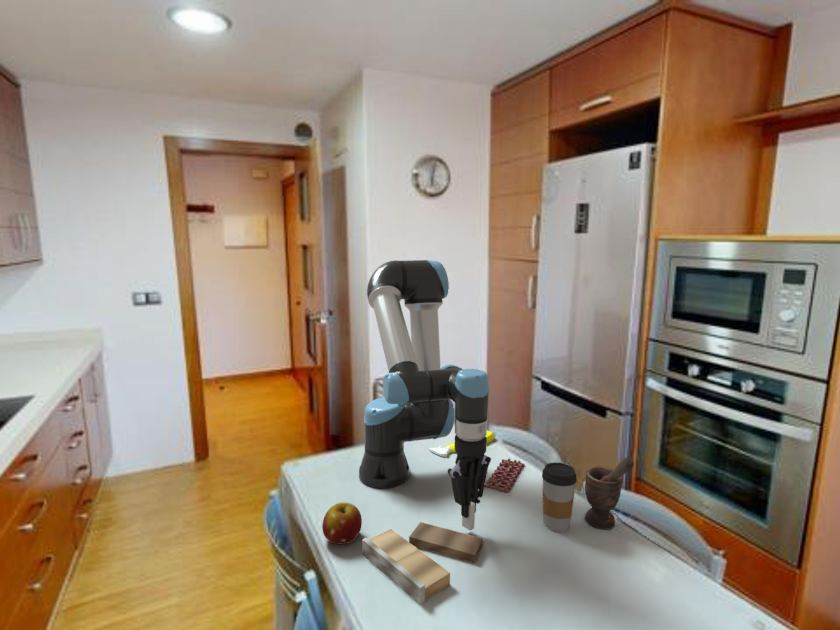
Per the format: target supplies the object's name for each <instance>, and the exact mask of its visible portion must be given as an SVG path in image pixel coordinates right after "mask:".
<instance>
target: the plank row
mask: <svg viewBox="0 0 840 630" xmlns="http://www.w3.org/2000/svg"><path fill="white" fill-rule="evenodd" d="M361 544H362V547H361V549H362V550H361V551H362V555H363V556H364V557H365V558H366V559H368V560H369V561H370V562H371V563H372V564H374V566H376V567H377V568H378V569H379V570H380V571H381V572H382V573H384V574H385V575H386V576H387V577H388V578H389V579H390V580H392V581H393V582H394V583H395V584H396V585H397V586H398V587H399V588H401V589H402V590H403V591H404V592H406V594H408V595H409V596H410V597H411V598H412V599H413V600H415V601H416V602H417V603H418V604H419V605H420V604H423V603H424V602H426V601H427V600H428V599H430V598H432V597H433V596H435V595H437V594H439V593H440V592H441V591H444V589H447V587H449V586H451V572H450V571H448V570H447V569H446V568H444V567H443V566H442V565H440V564H439V563H438V562H436V561H435V560H434V559H432V558H431V557H429V556H428V555H427V554H426V553H424V552H423V551H421V550H420V548H419V549H418V547H416V546H413V545H412V544H411V543H409V540H407V539H405V538H404V537H403V536H401V535H400V534H399V533H397V532H396V531H394V530H393V529H392V528H390V529H388V530H386V531H383V532H382V533H380V534H377V535H376V536H374V537H371V538H368V537H365V538H362V543H361Z"/></svg>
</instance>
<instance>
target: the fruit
mask: <svg viewBox="0 0 840 630" xmlns="http://www.w3.org/2000/svg"><path fill="white" fill-rule="evenodd" d="M322 520H323V521H322V526H321V528H322V534H323V536H324V537H325V539H326V540H327V541H329V542H330V543H334V544H338V545H343V544H344V545H345V544H349V543H351V542H353V541H354V540H355V539H356V538H357V537H358V536H359V534H360V533H361V530H362V525H363V519H362V514H361V511H360V510H359V508H358V507H357V506H356V505H354V504H353V503H350V502H346V501H345V502H344V501H343V502H338V503H335V504H334V505H331V507H330V508H329V509H328V510H327V512H326V513H325V514H324V517H323V519H322Z"/></svg>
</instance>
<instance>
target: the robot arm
mask: <svg viewBox="0 0 840 630" xmlns="http://www.w3.org/2000/svg"><path fill="white" fill-rule="evenodd" d="M447 273H448V272H447V270H446V268H445V267H444V265H443V264H442V262H440V261H439V260H429V259H425V260H423V259H421V260H397V259H396V260H390V261H387V262H384V263H382V264H380V266H378V267H377V268H376V269H375V270H374V271H373V273H372V275H371V276H370V278H369V280H368V283H367V289H366V296H367V301H368V304H369V306H370V307H371V308H372V309H373V311H374V315H375V319H376V324H377V328H378V333H379V337H380V342H381V344H382V345H381V346H382V350H383V354H384V358H385V361H386V365H387V366H386V367H387V370H388V371H387V372H388V373H386V374H384V376H383V378H382V389H383V397H380V398H379V397H377V398H376V399H374V400H372V401H370V402H369V403H368V404H367V405H366V406H365V408H364V415H363V416H364V417H363V423H364V453H363V456H362V460H361V463H360V466H359V469H358V478H359V480H360V482H361V483H362V484H364V485H366V486H368V487H371V488H376V489H377V488H378V489H389V488H394V487H397V486H401V485H402V484H405V483H406V482H407V481H408V480H409V479H410V466H409V463H408V459H407V457H406V453H405V449H404V448H405V446H404V445H405V443H408V442H414V441H415V442H416V441H425V440H437V439H440V438H445V437H448V435H449V436H450V434H451V432H452V430H453V427H454V434H455V435H454V443H455V451H456V452H455V453H456V458H455V462H454V463H455V465H454V466H453V468H450V467H449V468H448V469H447V474H448V475H449V477H450V483H451V488H452V494H453V500H454V503H456V504H458V505H459V506H461V508H460V509H461V510H460V515H461V526H462V527H464V528H465V529H466V530H468V531H470V532H471V531H473V530H474V529H475V524H476V523H475V522H476V521H475V520H476V519H475V517H476V516H475V515H476V511H477V504H480V502H481V500H480V499H479V498H482V497H483V496H484V490H485V487H484V486H485V484H486V482H487V474H488V470H489V466H490V465H491V464H490V463H491V461H492V458H491V457H490V456H487V455H485V454H486V453H487V445H488V443H487V438H486V435H487V430H488V415H489V414H488V412H489V411H488V410H489V409H488V407H489V393H490V384H489V375H488V373H487V372H486V371H484V370H481V369H480V370H479V369H477V368H462V367H459V366H458V365H455V364H447V365H444V366H442V367H441V348H440V347H441V346H440V329H439V328H440V326H439V308H441V306H442V305H443V302H444V301H443V299H445V298H447V297H448V295H449V289H450V287H449V285H450V283H449V282H450V281H449V278H448V274H447ZM401 300H403V301H404V303H403V304H404V307H406V308H407V309H408V310H409V319H410V320H409V321H410V333H409V331H408V326H407V324H406V319H405V316H404V312H403V310H402V309H403V308H402V306H401ZM454 403H455V408H454Z"/></svg>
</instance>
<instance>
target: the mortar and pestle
mask: <svg viewBox="0 0 840 630" xmlns="http://www.w3.org/2000/svg"><path fill="white" fill-rule="evenodd" d="M634 466H635V462H634V460H633V459H632V458H631V457H630V456H629V457H628V456H627V457H623V458H622V459H621V460H620V461H619V462H618V463H617V465H616V466H615V468H614V469H613V468H611V467H606V466H604V465H603V466H602V465H593V466H590V467H588V468H587V469H586V471H585V481H584V492H585V497H586V501H587V503H588V505H590V508H589V509H588V510H586V512H585V515H584V521H585V522H586V523H587V524H588V525H589V526H591V527H593V528H597V529H602V530H603V529H606V530H607V529H609V530H610V529H613V528H614V527H615V526H616V519H615V516H614V515H613V513H612V512H611V511H612V510H614V509H615V508H616V507H617V506H618V503H619V501H620V498H621V492H622V491H621V490H622V484H623V476H624V475H625V474H627V473H628V472H630V471H631V470H632V469H633V467H634Z"/></svg>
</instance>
